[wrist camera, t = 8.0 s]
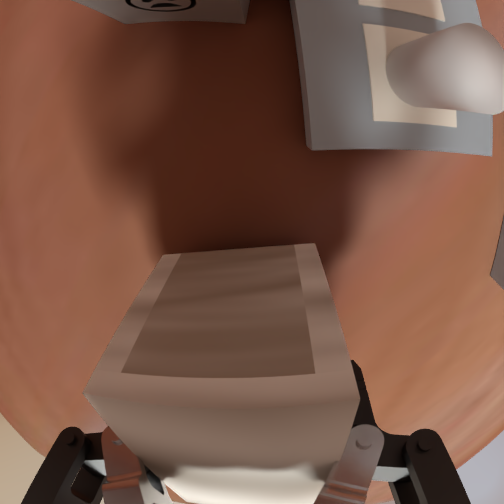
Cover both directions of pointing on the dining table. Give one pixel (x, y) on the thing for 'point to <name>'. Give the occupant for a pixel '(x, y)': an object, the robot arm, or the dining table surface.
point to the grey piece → (349, 84)
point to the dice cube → (171, 10)
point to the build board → (499, 261)
